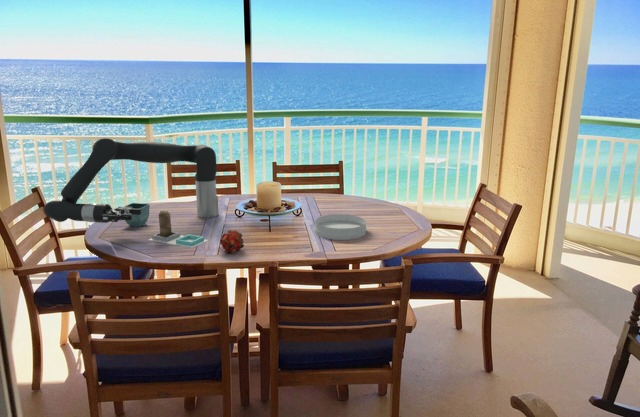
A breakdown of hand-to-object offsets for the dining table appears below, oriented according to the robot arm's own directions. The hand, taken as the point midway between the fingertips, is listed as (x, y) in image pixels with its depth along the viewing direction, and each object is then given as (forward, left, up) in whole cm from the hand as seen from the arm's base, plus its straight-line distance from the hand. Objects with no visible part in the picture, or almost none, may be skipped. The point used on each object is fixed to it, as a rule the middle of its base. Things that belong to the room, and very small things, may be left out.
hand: (136, 214), depth 194 cm
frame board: (-13, +12, -11) cm, 20 cm away
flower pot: (-4, -21, -11) cm, 24 cm away
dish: (-77, +32, -11) cm, 84 cm away
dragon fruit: (-28, +32, -11) cm, 43 cm away
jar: (-9, +7, -9) cm, 15 cm away
